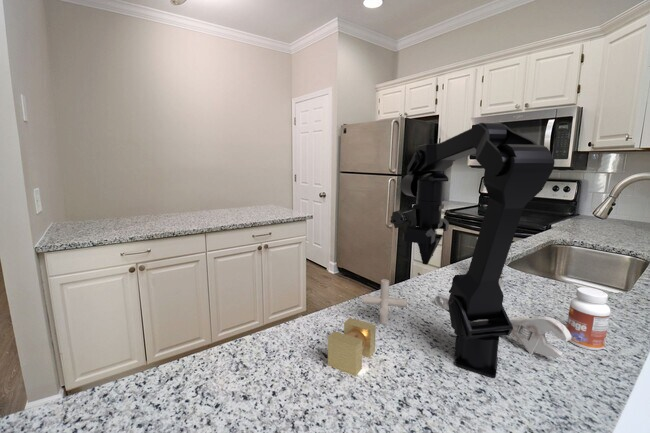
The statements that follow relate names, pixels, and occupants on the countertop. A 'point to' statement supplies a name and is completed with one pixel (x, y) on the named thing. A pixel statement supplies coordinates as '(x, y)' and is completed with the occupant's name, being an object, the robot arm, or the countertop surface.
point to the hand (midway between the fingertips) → (425, 264)
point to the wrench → (530, 331)
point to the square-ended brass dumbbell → (351, 346)
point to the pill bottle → (588, 318)
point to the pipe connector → (384, 301)
